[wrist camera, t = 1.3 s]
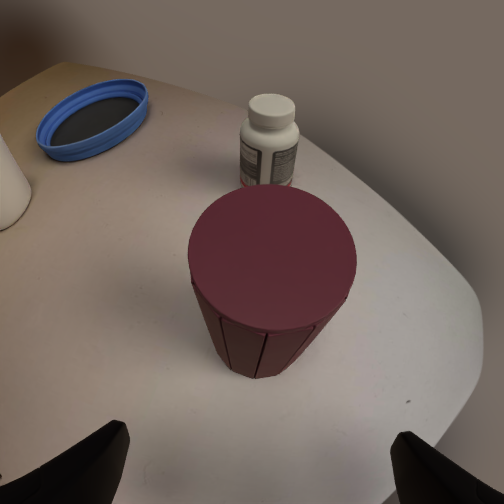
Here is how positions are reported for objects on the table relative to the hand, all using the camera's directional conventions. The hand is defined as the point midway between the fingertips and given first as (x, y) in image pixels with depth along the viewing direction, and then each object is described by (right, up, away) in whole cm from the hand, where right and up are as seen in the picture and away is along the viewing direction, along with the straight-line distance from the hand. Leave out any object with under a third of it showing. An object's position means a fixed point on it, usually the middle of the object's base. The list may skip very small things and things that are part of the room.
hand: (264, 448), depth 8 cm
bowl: (-24, +25, +30) cm, 46 cm away
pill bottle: (+1, +13, +24) cm, 27 cm away
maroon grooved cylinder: (0, 0, +15) cm, 15 cm away
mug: (-34, +11, +21) cm, 42 cm away
